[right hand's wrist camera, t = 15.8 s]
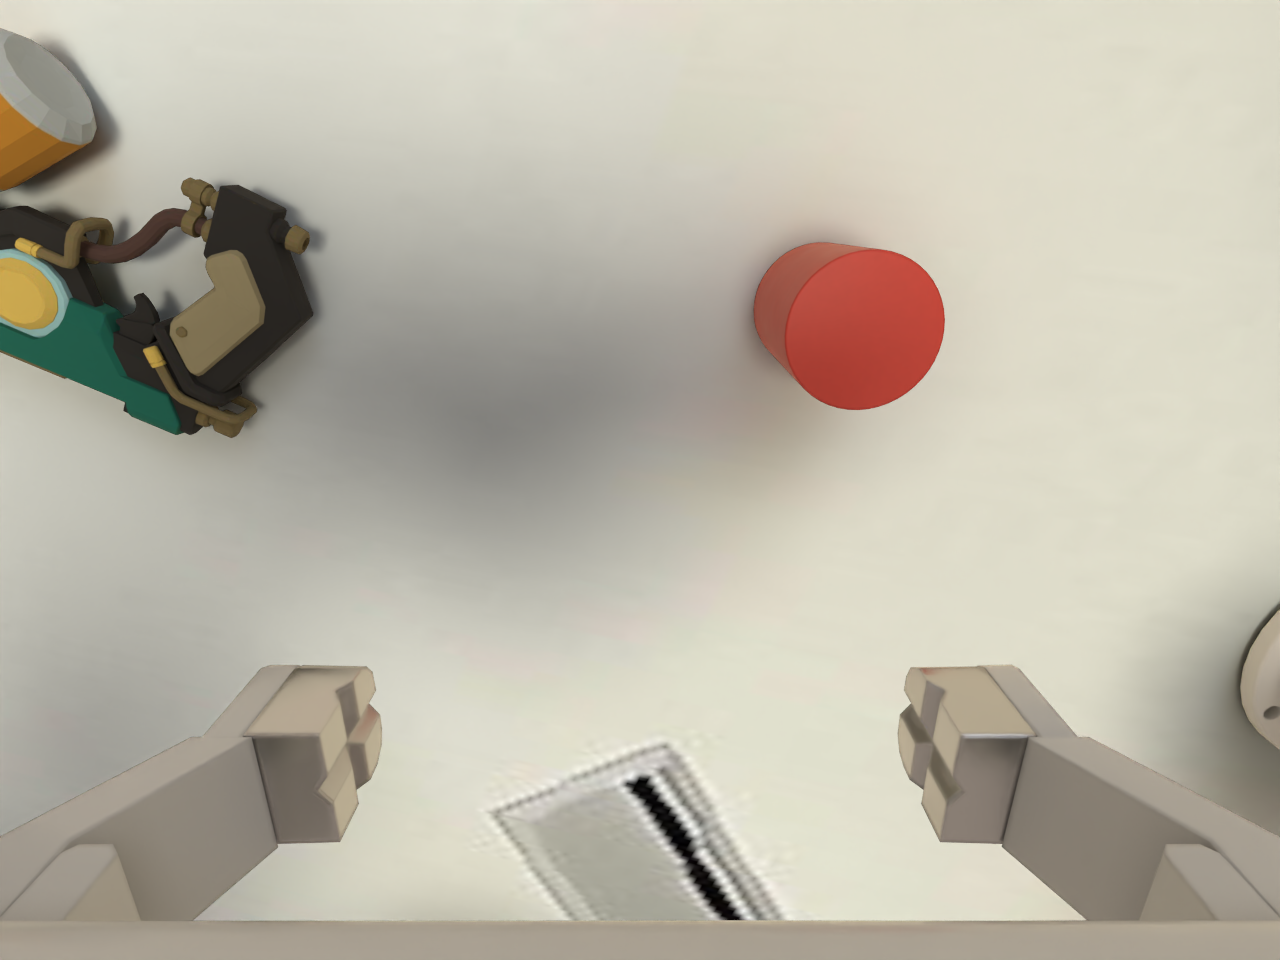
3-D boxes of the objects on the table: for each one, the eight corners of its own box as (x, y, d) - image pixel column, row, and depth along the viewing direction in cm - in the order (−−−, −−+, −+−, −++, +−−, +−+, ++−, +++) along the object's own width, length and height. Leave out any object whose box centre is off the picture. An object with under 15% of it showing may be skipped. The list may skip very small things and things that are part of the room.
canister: (853, 380, 32) (911, 425, 25) (738, 353, 32) (765, 391, 25) (895, 259, 30) (970, 270, 23) (774, 228, 30) (813, 231, 23)
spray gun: (374, 267, 31) (205, 490, 35) (-2, -50, 26) (-143, 256, 30) (338, 282, 27) (152, 531, 31) (-113, -88, 22) (-256, 270, 26)
